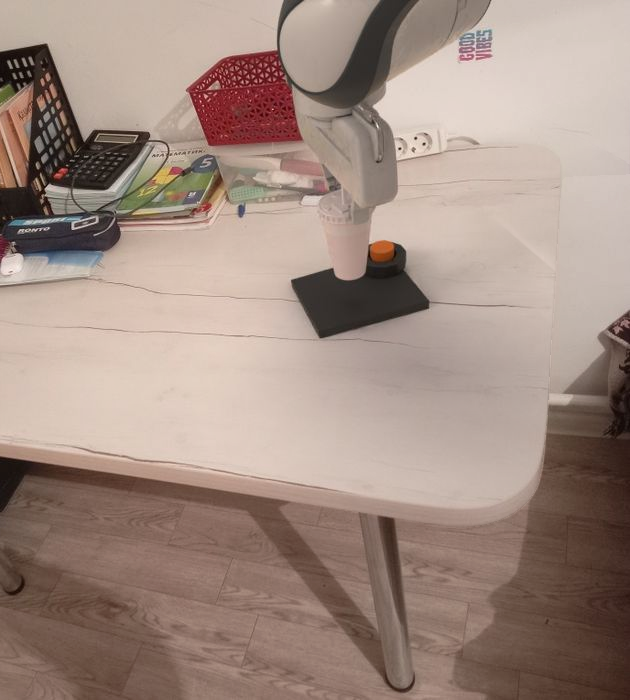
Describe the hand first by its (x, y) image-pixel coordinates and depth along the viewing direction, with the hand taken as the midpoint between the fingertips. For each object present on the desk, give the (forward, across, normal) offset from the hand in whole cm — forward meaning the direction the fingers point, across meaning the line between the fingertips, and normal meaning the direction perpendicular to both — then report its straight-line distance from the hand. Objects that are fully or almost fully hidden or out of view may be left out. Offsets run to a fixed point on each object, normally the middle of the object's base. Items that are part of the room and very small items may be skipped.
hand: (346, 204), depth 70 cm
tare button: (+13, +6, -7) cm, 16 cm away
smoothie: (+9, 0, 0) cm, 9 cm away
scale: (+16, +3, -2) cm, 16 cm away
